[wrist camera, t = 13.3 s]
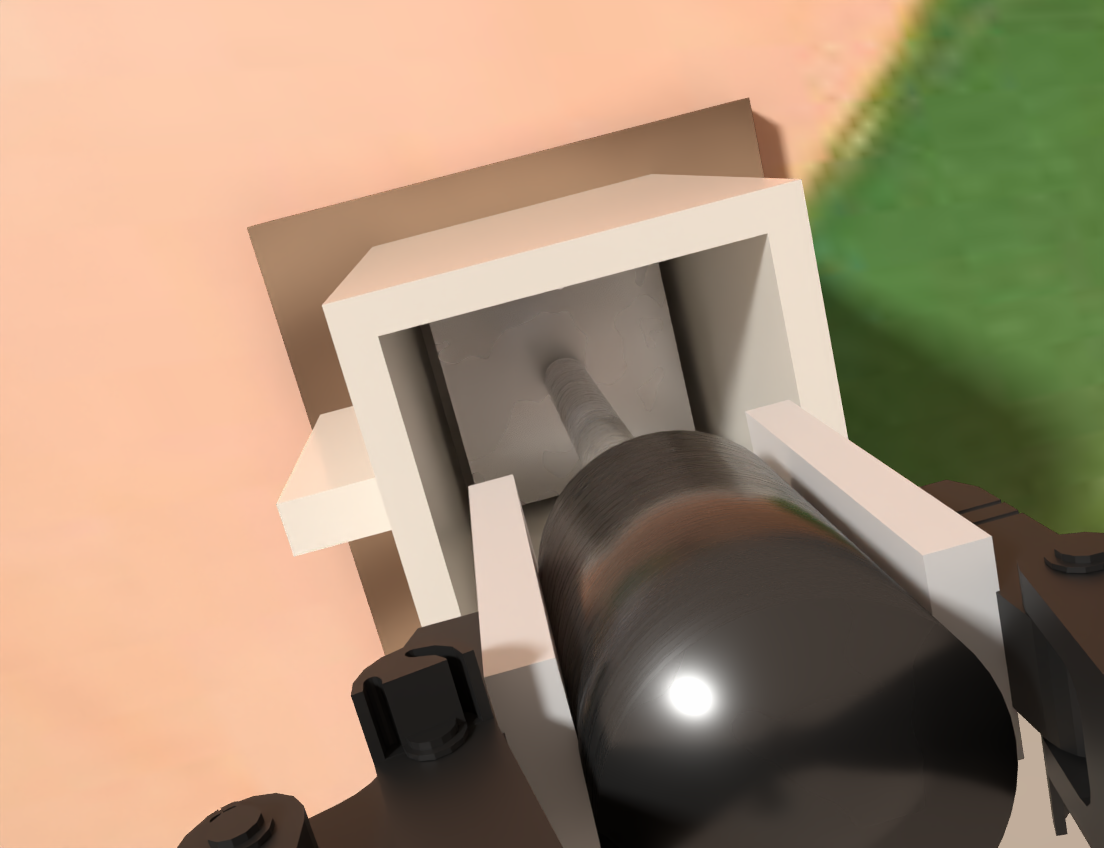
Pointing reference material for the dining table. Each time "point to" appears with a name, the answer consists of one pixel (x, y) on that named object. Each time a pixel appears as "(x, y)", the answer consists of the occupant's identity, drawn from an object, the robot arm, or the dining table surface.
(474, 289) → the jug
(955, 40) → the dining table surface
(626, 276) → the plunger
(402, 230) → the walnut board
